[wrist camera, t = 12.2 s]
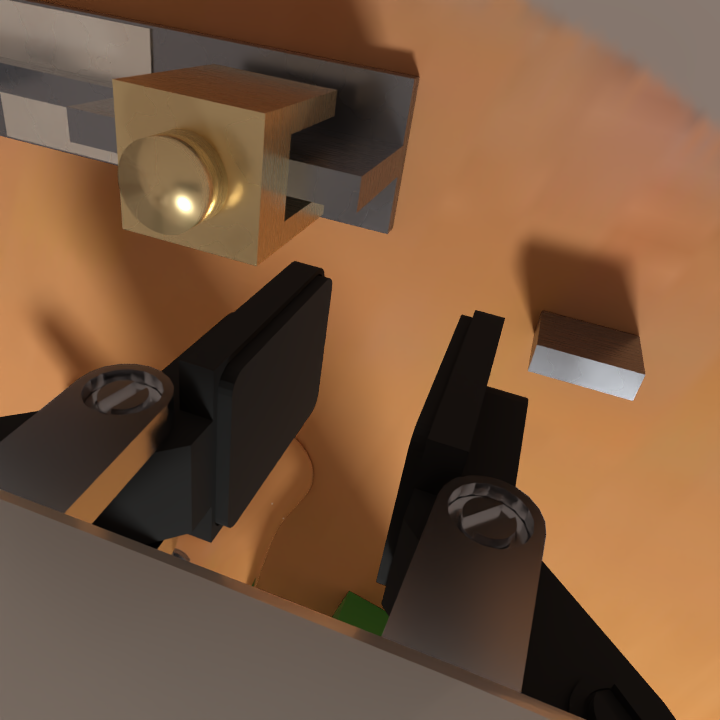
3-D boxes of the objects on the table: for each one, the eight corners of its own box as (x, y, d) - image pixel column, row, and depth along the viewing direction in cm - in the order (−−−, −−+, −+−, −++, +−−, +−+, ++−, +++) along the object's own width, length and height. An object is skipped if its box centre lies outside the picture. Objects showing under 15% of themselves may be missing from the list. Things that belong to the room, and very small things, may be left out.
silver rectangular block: (628, 360, 26) (632, 400, 23) (534, 334, 26) (527, 371, 24) (639, 336, 25) (645, 374, 22) (542, 310, 26) (536, 344, 23)
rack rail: (392, 228, 26) (347, 279, 21) (-29, 122, 30) (-149, 144, 25) (419, 76, 23) (373, 95, 18) (-56, -18, 27) (-199, -24, 22)
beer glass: (253, 517, 38) (92, 761, 26) (190, 428, 36) (-18, 648, 24) (343, 494, 35) (207, 763, 22) (279, 396, 33) (91, 631, 20)
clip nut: (323, 214, 25) (234, 283, 18) (212, 186, 26) (93, 242, 19) (337, 89, 22) (240, 121, 16) (214, 63, 23) (77, 84, 17)
